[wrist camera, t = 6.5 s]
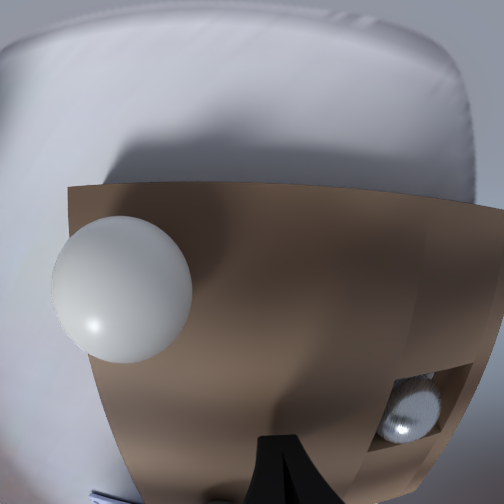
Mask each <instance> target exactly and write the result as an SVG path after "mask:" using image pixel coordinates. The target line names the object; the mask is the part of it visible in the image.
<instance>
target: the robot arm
mask: <svg viewBox="0 0 504 504" xmlns="http://www.w3.org/2000/svg"><path fill="white" fill-rule="evenodd" d="M89 498H90V500H91V501H92V502H93V504H130V503H126V502H122V501H118V500H114V499H110V498H106V497H103V496H99V495H96V494H90V495H89ZM243 504H346V503H345V502H344V501H343V500H342V499H341V498H340V497H339V496H338V495H337V494H336V493H335V491H334V490H333V489H332V488H331V487H330V486H329V484H328V483H327V482H326V480H325V479H324V478H323V476H322V475H321V474H320V472H319V471H318V470H317V468H316V467H315V465H314V464H313V462H312V461H311V459H310V457H309V456H308V454H307V453H306V451H305V449H304V447H303V445H302V444H301V442H300V440H299V438H298V436H297V435H296V434H290V435H267V436H259V437H258V438H257V449H256V462H255V468H254V472H253V475H252V479H251V482H250V486H249V488H248V491H247V494H246V496H245V499H244V502H243Z"/></svg>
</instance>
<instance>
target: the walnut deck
mask: <svg viewBox="0 0 504 504" xmlns="http://www.w3.org/2000/svg"><path fill="white" fill-rule="evenodd" d="M111 216H129V217H134V218H139V219H142V220H144V221H147V222H149V223H151V224H153V225H155V226H157V227H158V228H160V229H161V230H163V231H164V232H165V233H166V234H167V235H168V236H169V237H170V238H171V239H172V240H173V241H174V242H175V243H176V244H177V246H178V247H179V249H180V250H181V252H182V254H183V256H184V258H185V260H186V262H187V265H188V267H189V271H190V275H191V280H192V303H191V308H190V313H189V316H188V319H187V321H186V323H185V325H184V327H183V329H182V331H181V332H180V334H179V335H178V337H177V338H176V339H175V340H174V341H173V342H172V343H171V344H170V345H169V346H168V347H167V348H166V349H165V350H163V351H162V352H160V353H159V354H157V355H155V356H153V357H151V358H149V359H146V360H143V361H140V362H135V363H112V362H108V361H104V360H101V359H98V358H96V357H94V356H92V355H90V354H88V356H89V360H90V364H91V368H92V372H93V375H94V379H95V382H96V386H97V389H98V392H99V396H100V399H101V402H102V405H103V408H104V411H105V414H106V417H107V419H108V422H109V425H110V428H111V430H112V433H113V436H114V438H115V441H116V443H117V446H118V448H119V451H120V453H121V455H122V458H123V460H124V462H125V465H126V467H127V469H128V471H129V473H130V475H131V478H132V480H133V482H134V484H135V486H136V488H137V490H138V492H139V494H140V496H141V498H142V500H143V501H144V503H145V504H204V503H207V502H211V501H228V502H232V503H235V504H243V502H244V499H245V496H246V494H247V491H248V488H249V486H250V482H251V479H252V475H253V472H254V468H255V462H256V449H257V438H258V437H259V436H267V435H290V434H296V435H297V436H298V438H299V440H300V442H301V444H302V445H303V447H304V449H305V451H306V453H307V454H308V456H309V457H310V459H311V461H312V462H313V464H314V465H315V467H316V468H317V470H318V471H319V472H320V474H321V475H322V476H323V478H324V479H325V480H326V482H327V483H328V484H329V486H330V487H331V488H332V489H333V490H334V491H335V493H336V494H337V495H338V496H339V497H340V498H341V499H342V500H343V501H344V502H345V503H346V504H375V503H378V502H382V501H386V500H389V499H392V498H396V497H399V496H402V495H405V494H407V493H411V492H414V491H415V490H416V489H417V487H418V486H419V485H420V483H421V482H422V481H423V479H424V478H425V476H426V475H427V474H428V472H429V471H430V469H431V468H432V466H433V465H434V464H435V462H436V461H437V459H438V457H439V456H440V455H441V453H442V451H443V450H444V448H445V447H446V445H447V443H448V442H449V440H450V438H451V437H452V435H453V433H454V431H455V430H456V428H457V426H458V424H459V423H460V421H461V419H462V417H463V415H464V413H465V411H466V409H467V407H468V405H469V403H470V401H471V399H472V397H473V395H474V393H475V391H476V389H477V386H478V384H479V382H480V380H481V377H482V375H483V372H484V370H485V368H486V365H487V363H488V360H489V357H490V355H491V352H492V349H493V346H494V344H495V341H496V338H497V335H498V332H499V329H500V326H501V322H502V319H503V315H504V210H502V209H496V208H491V207H486V206H480V205H475V204H470V203H464V202H458V201H451V200H445V199H438V198H431V197H424V196H416V195H409V194H401V193H392V192H383V191H374V190H363V189H353V188H341V187H328V186H314V185H298V184H278V183H252V182H146V183H120V184H102V185H86V186H73V187H68V220H69V237H71V236H73V235H74V234H75V233H76V232H77V231H78V230H79V229H81V228H82V227H84V226H85V225H87V224H89V223H91V222H93V221H96V220H98V219H101V218H105V217H111ZM433 372H435V373H434V376H433V379H432V382H433V383H434V384H435V385H436V387H437V388H438V390H439V393H440V396H441V411H440V415H439V418H438V420H437V422H436V423H435V425H434V426H433V428H432V429H431V430H430V431H429V432H428V433H427V434H426V435H425V436H423V437H422V438H420V439H418V440H416V441H413V442H410V443H404V444H398V443H392V442H389V441H387V440H385V439H384V438H382V437H381V436H380V435H379V434H378V433H377V432H376V430H377V428H378V425H379V423H380V420H381V418H382V415H383V413H384V410H385V407H386V405H387V402H388V399H389V396H390V393H391V390H392V387H393V384H394V381H395V380H396V379H402V378H408V377H413V376H418V375H423V374H428V373H433Z"/></svg>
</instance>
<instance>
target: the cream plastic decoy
mask: <svg viewBox="0 0 504 504" xmlns="http://www.w3.org/2000/svg"><path fill="white" fill-rule="evenodd" d="M51 295H52V302H53V306H54V310H55V313H56V315H57V318H58V320H59V322H60V324H61V326H62V328H63V329H64V331H65V332H66V334H67V335H68V336H69V338H70V339H71V340H72V341H73V342H74V343H75V344H76V345H77V346H78V347H80V348H81V349H82V350H84V351H85V352H87V353H88V354H90V355H92V356H94V357H96V358H98V359H101V360H104V361H108V362H112V363H135V362H140V361H143V360H146V359H149V358H151V357H153V356H155V355H157V354H159V353H160V352H162V351H163V350H165V349H166V348H167V347H168V346H169V345H170V344H171V343H172V342H173V341H174V340H175V339H176V338H177V337H178V335H179V334H180V332H181V331H182V329H183V327H184V325H185V323H186V321H187V319H188V316H189V313H190V308H191V303H192V280H191V275H190V271H189V267H188V265H187V262H186V260H185V258H184V256H183V254H182V252H181V250H180V249H179V247H178V246H177V244H176V243H175V242H174V241H173V240H172V239H171V238H170V237H169V236H168V235H167V234H166V233H165V232H164V231H163V230H161V229H160V228H158V227H157V226H155V225H153V224H151V223H149V222H147V221H144V220H142V219H139V218H134V217H129V216H111V217H105V218H101V219H98V220H96V221H93V222H91V223H89V224H87V225H85V226H84V227H82V228H81V229H79V230H78V231H77V232H76V233H75V234H74V235H73V236H71V237H70V239H69V240H68V241H67V242H66V244H65V245H64V247H63V248H62V250H61V251H60V253H59V255H58V258H57V260H56V263H55V266H54V269H53V274H52V282H51Z"/></svg>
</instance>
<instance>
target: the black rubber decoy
mask: <svg viewBox="0 0 504 504" xmlns="http://www.w3.org/2000/svg"><path fill="white" fill-rule="evenodd" d="M204 504H235V503H232V502H228V501H211V502H207V503H204Z"/></svg>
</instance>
